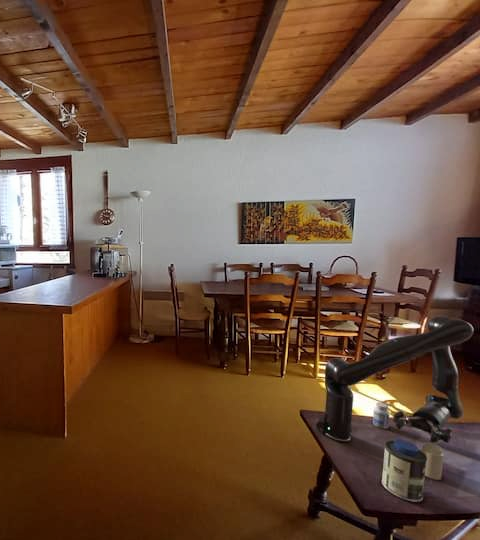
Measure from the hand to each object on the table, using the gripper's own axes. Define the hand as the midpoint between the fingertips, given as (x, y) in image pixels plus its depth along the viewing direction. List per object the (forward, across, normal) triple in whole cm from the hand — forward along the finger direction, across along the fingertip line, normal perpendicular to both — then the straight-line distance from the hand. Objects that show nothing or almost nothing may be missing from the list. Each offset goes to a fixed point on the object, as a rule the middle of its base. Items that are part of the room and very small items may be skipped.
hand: (414, 432), depth 104 cm
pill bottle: (-30, +18, -18) cm, 40 cm away
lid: (+8, 0, -2) cm, 8 cm away
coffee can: (+8, 0, -18) cm, 19 cm away
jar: (-10, -3, -18) cm, 20 cm away
